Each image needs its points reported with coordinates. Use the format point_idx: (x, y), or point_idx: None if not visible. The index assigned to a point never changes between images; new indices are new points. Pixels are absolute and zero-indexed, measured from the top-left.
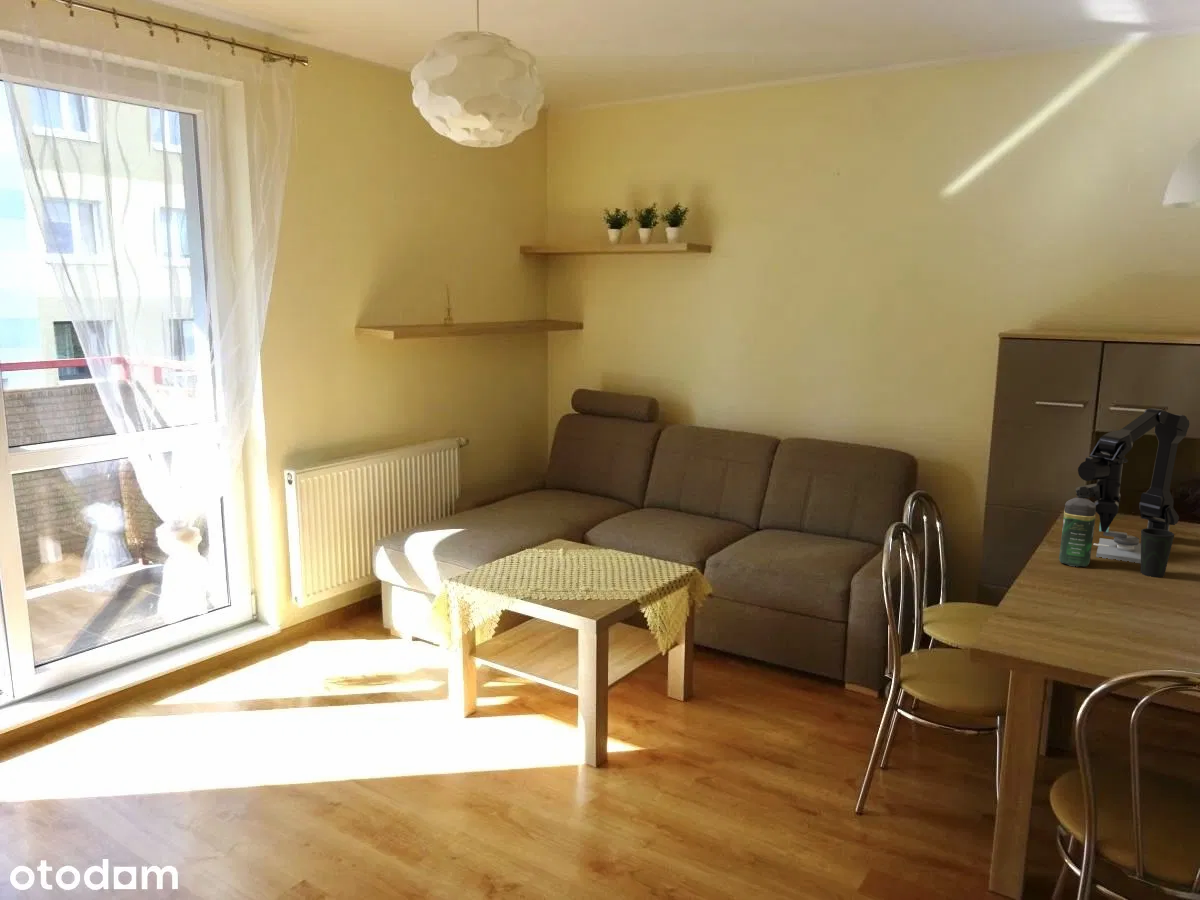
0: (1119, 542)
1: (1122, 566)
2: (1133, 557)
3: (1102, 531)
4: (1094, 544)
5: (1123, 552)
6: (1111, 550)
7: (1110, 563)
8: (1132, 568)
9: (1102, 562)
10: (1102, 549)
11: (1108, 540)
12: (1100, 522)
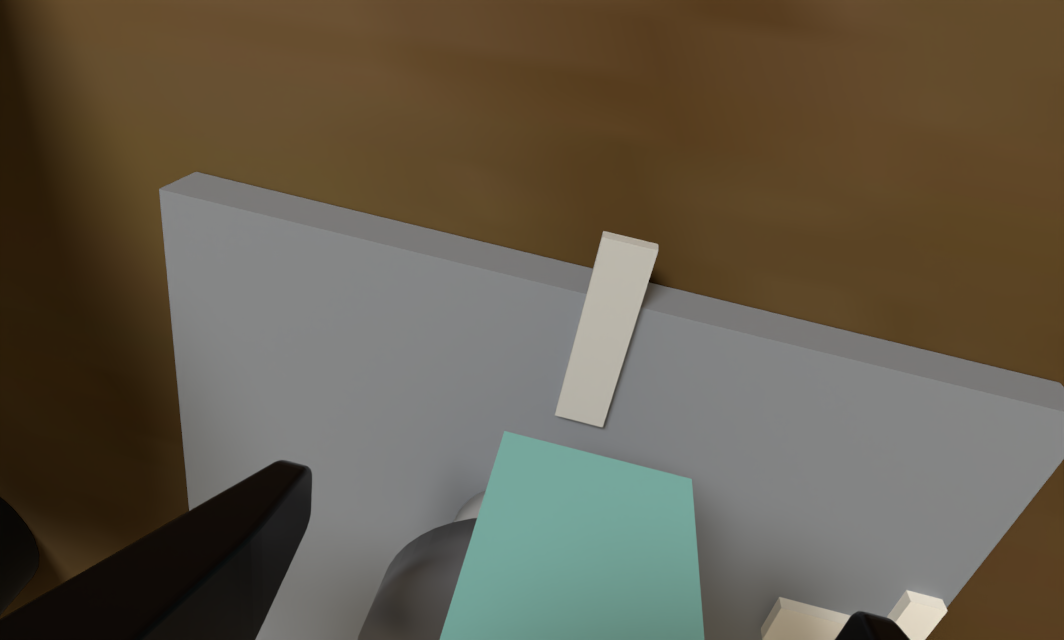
0: (405, 557)
1: (7, 368)
2: None
3: (279, 470)
4: (601, 251)
5: (375, 497)
6: (402, 401)
7: (32, 280)
8: (7, 433)
9: (9, 201)
10: (395, 306)
11: (940, 490)
12: (26, 607)
